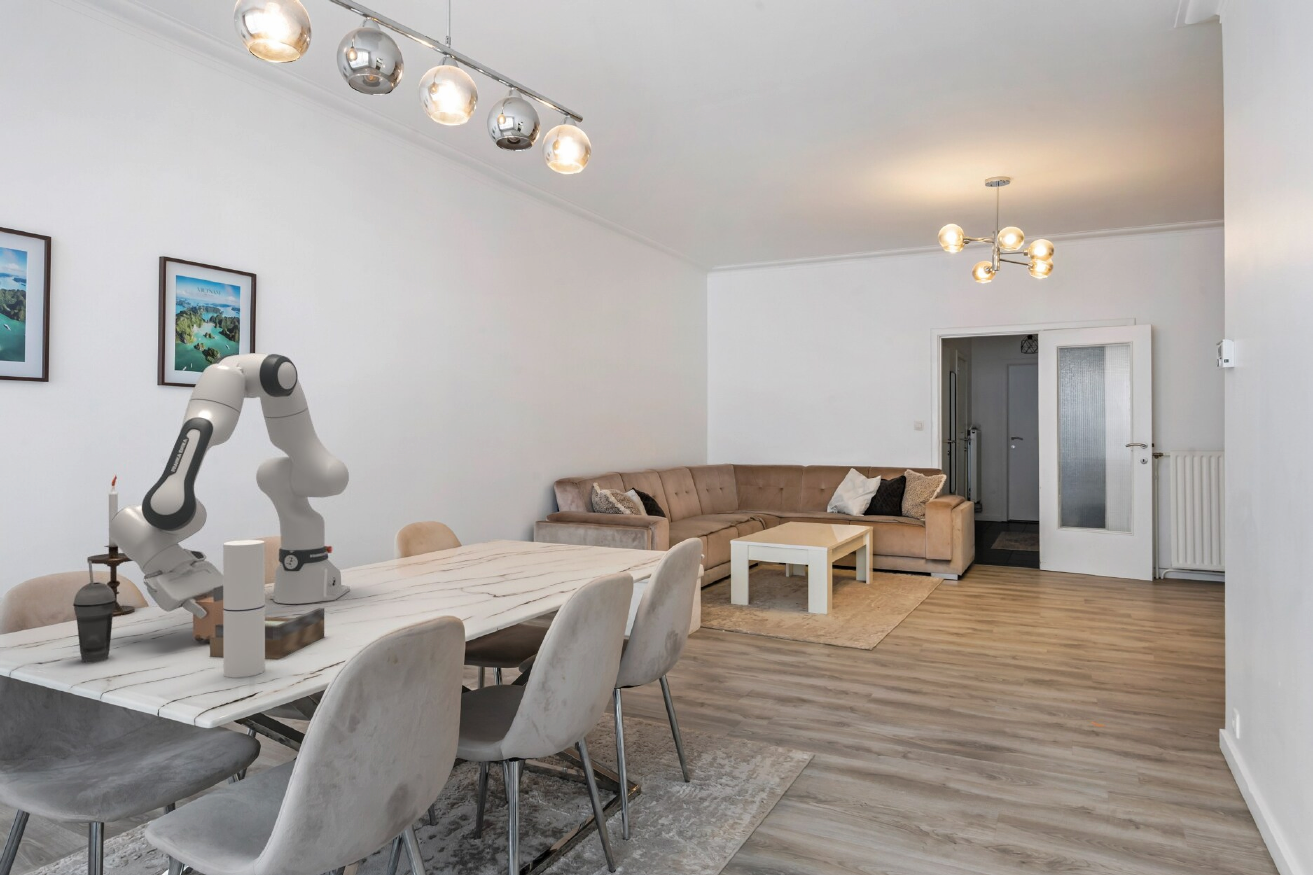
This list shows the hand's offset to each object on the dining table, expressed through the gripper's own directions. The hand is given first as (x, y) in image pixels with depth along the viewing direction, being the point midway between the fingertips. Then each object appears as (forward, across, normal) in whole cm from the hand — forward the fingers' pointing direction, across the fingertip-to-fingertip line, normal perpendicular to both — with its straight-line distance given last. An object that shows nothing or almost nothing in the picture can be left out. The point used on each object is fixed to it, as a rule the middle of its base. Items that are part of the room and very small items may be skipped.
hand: (214, 612), depth 180 cm
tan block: (+4, 0, +5) cm, 6 cm away
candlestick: (-24, +25, +33) cm, 48 cm away
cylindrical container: (+18, -22, -9) cm, 29 cm away
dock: (+14, -4, -6) cm, 16 cm away
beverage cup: (-7, -15, +16) cm, 23 cm away
